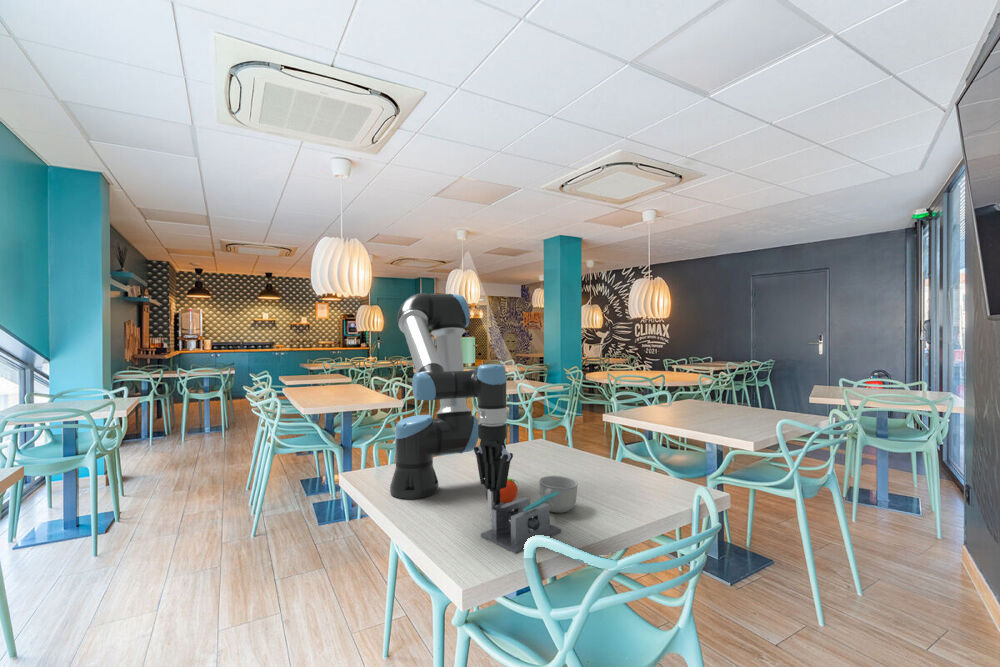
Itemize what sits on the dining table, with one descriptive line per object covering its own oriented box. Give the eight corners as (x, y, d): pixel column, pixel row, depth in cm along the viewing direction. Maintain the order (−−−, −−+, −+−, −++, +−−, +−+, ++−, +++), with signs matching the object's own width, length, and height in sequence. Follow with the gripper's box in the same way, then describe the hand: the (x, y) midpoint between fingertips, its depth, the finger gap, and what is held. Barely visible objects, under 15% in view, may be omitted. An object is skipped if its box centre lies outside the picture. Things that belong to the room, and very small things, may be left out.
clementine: (520, 497, 139) (520, 474, 139) (522, 506, 132) (522, 481, 132) (493, 498, 138) (493, 474, 138) (494, 507, 131) (494, 482, 131)
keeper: (523, 512, 109) (522, 509, 109) (536, 507, 112) (535, 504, 113) (545, 499, 104) (544, 496, 104) (559, 493, 107) (557, 491, 108)
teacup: (552, 499, 137) (552, 472, 137) (584, 507, 130) (584, 479, 130) (525, 513, 126) (524, 484, 126) (558, 523, 119) (558, 492, 119)
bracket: (480, 536, 112) (480, 509, 112) (525, 518, 123) (525, 493, 123) (515, 553, 103) (515, 523, 103) (560, 532, 114) (560, 504, 114)
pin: (492, 521, 117) (492, 503, 117) (504, 516, 120) (504, 499, 120) (530, 537, 108) (530, 518, 108) (542, 531, 111) (542, 513, 111)
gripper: (465, 422, 122) (466, 511, 122) (498, 428, 113) (500, 525, 113) (486, 418, 128) (487, 503, 127) (520, 424, 118) (521, 516, 118)
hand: (493, 513), depth 120 cm, fingers closed
